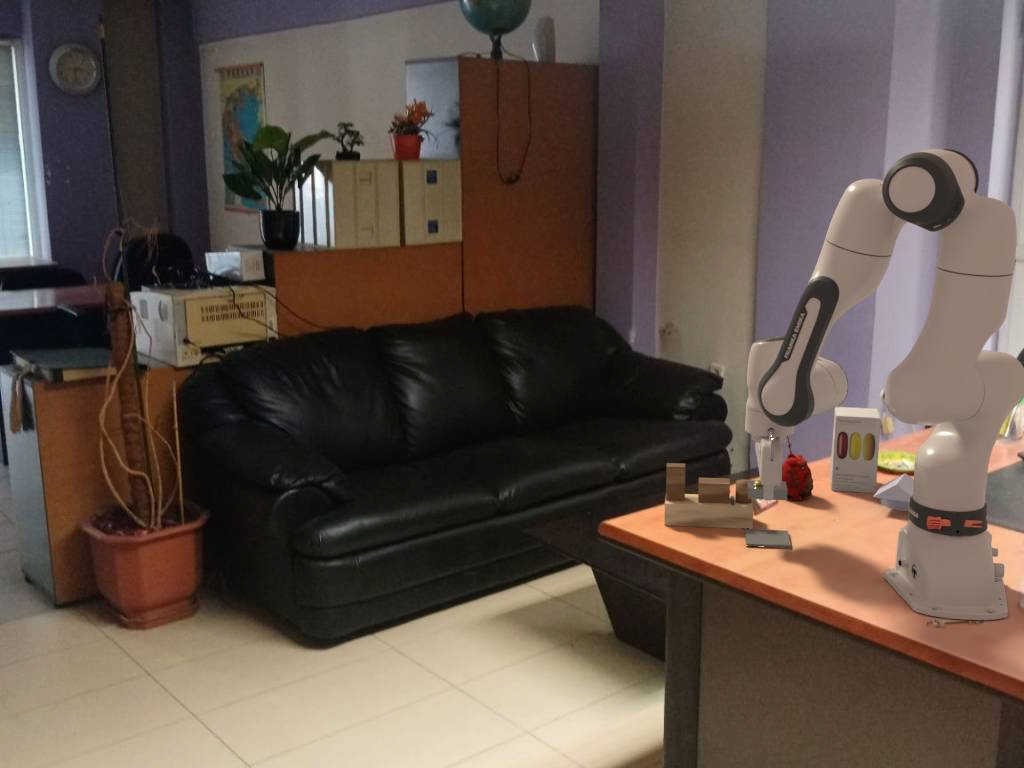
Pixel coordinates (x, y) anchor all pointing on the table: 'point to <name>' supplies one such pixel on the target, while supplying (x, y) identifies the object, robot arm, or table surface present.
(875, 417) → the supplement box
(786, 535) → the bench mat
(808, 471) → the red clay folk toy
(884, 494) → the white house model
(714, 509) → the wooden block toy
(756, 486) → the lever cap
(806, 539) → the table surface
